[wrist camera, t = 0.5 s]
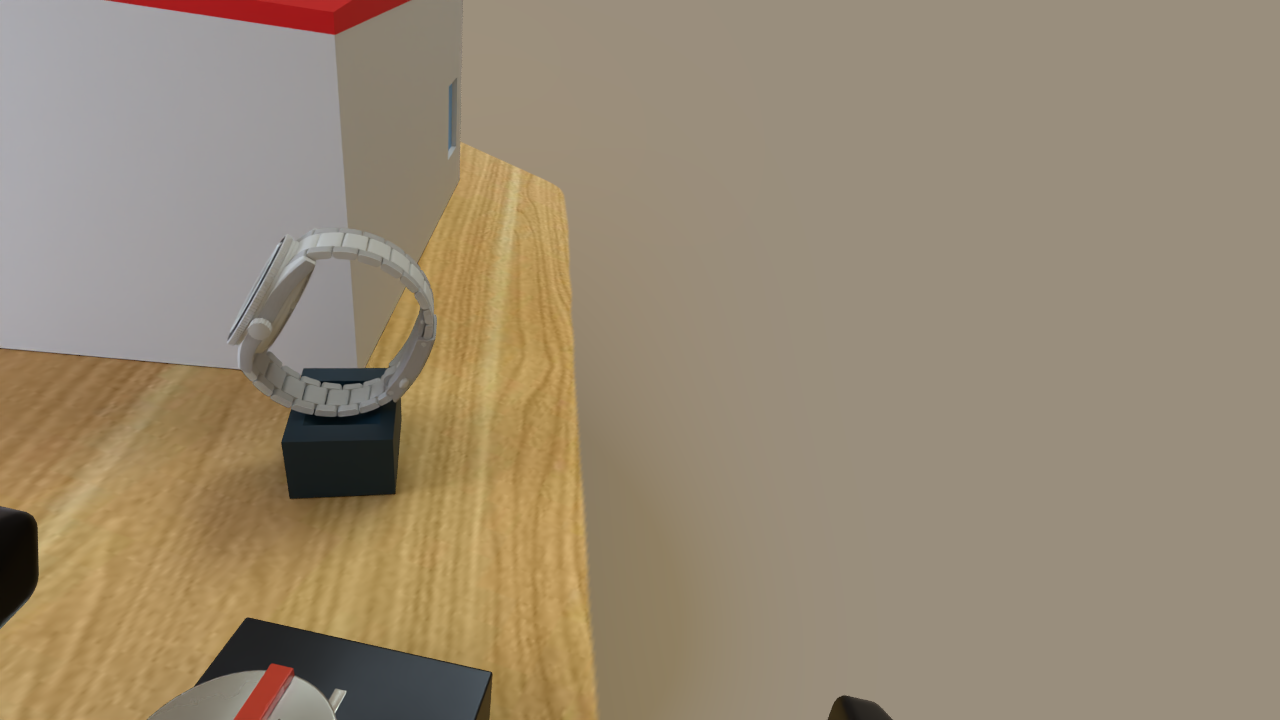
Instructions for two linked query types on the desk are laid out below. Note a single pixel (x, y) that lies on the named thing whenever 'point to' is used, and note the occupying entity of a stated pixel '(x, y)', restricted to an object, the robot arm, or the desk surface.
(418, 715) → the lock panel
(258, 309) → the watch
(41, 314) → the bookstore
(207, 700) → the lock knob
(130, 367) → the desk surface
